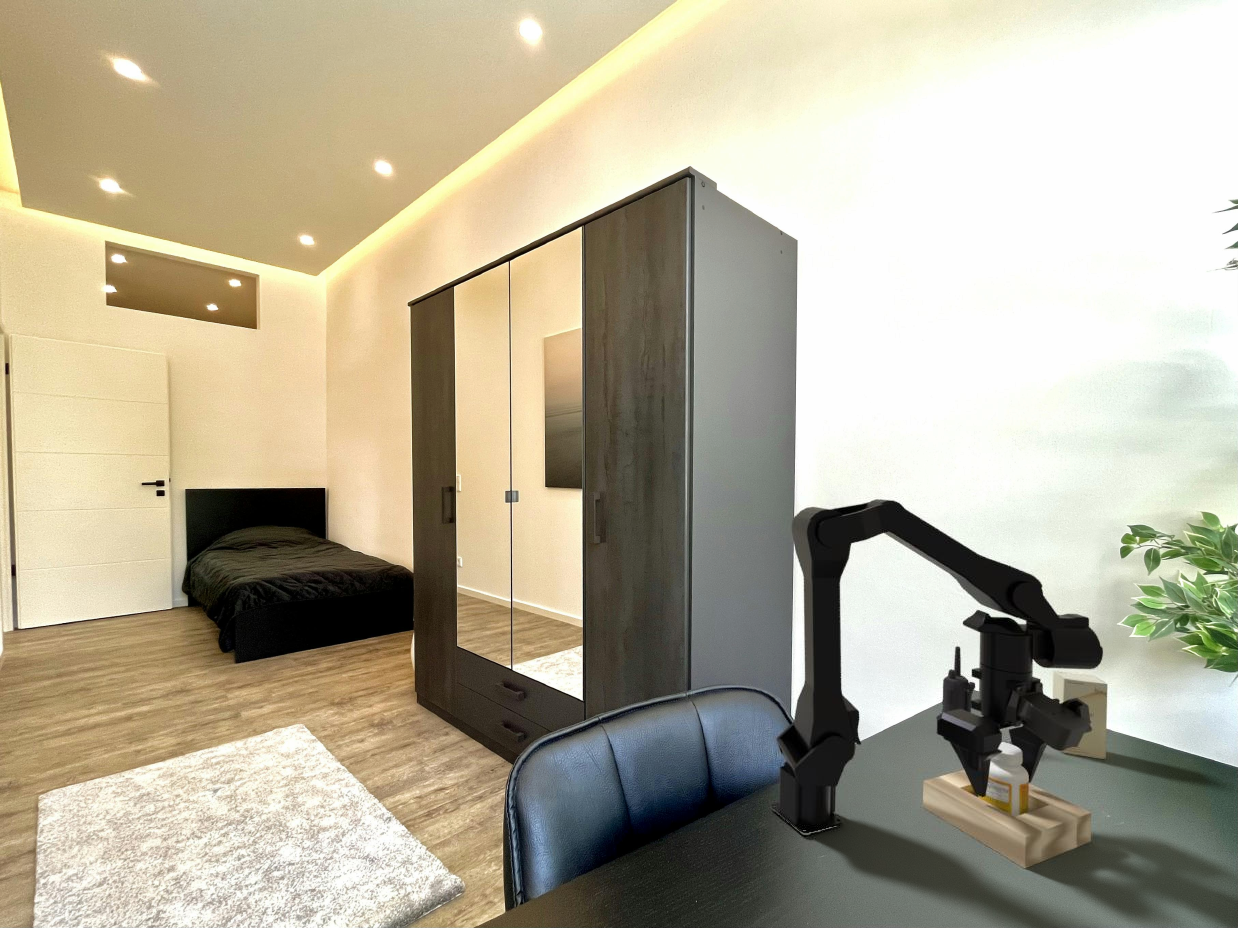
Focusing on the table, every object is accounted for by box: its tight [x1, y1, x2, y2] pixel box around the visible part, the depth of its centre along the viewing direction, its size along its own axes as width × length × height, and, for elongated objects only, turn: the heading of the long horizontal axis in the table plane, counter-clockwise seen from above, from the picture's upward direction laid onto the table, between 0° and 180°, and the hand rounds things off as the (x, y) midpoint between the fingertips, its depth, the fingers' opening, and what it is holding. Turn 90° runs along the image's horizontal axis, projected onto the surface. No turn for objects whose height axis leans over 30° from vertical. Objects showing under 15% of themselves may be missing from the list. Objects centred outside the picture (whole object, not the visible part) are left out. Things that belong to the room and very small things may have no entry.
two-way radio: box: [941, 646, 976, 713], centre depth 100 cm, size 6×4×15 cm
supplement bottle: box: [978, 741, 1030, 817], centre depth 75 cm, size 5×5×10 cm
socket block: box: [922, 769, 1092, 869], centre depth 74 cm, size 13×13×4 cm
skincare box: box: [1052, 670, 1108, 760], centre depth 96 cm, size 6×4×12 cm
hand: (1003, 788), depth 74 cm, fingers open, 9 cm apart
